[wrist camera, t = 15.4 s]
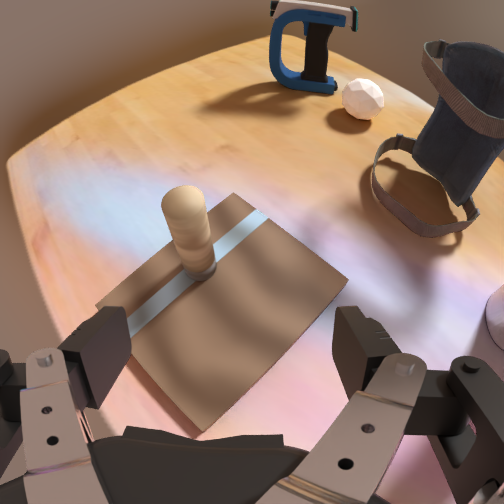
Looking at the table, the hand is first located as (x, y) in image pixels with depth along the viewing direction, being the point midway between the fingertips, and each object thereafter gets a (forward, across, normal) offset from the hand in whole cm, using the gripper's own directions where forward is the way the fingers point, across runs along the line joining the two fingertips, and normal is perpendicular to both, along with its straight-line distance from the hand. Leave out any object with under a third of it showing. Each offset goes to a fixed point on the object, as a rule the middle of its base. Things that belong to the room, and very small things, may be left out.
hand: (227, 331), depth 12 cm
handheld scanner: (+54, -12, -24) cm, 61 cm away
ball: (+48, -21, -17) cm, 54 cm away
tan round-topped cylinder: (+23, +5, +4) cm, 24 cm away
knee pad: (+34, -27, -3) cm, 44 cm away
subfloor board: (+22, +3, +8) cm, 23 cm away
